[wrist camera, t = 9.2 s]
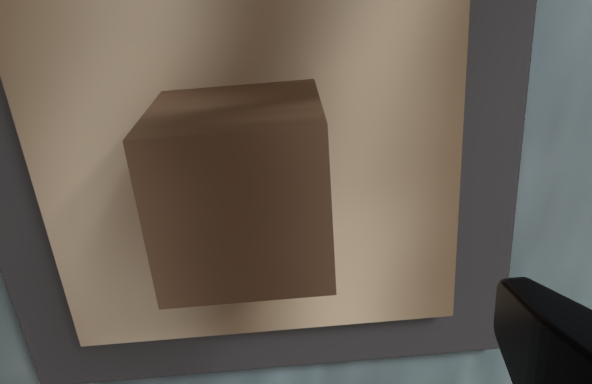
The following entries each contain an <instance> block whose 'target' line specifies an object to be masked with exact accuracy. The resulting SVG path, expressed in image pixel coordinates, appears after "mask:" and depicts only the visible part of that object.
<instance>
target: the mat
mask: <svg viewBox="0 0 592 384" xmlns="http://www.w3.org/2000/svg"><path fill="white" fill-rule="evenodd" d="M536 2H537V0H470V13H469V31H468V49H467V68H466V86H465V104H464V123H463V141H462V159H461V178H460V196H459V214H458V233H457V251H456V270H455V288H454V306H453V316H445V317H433V318H421V319H409V320H397V321H385V322H373V323H361V324H349V325H336V326H324V327H312V328H300V329H288V330H276V331H264V332H252V333H240V334H228V335H216V336H203V337H191V338H179V339H167V340H155V341H143V342H131V343H119V344H107V345H95V346H83V347H81V345H80V342H79V339H78V335H77V332H76V329H75V325H74V322H73V319H72V315H71V312H70V309H69V305H68V302H67V298H66V295H65V292H64V288H63V285H62V282H61V278H60V275H59V272H58V268H57V265H56V261H55V258H54V255H53V251H52V248H51V245H50V241H49V238H48V235H47V231H46V228H45V225H44V221H43V218H42V214H41V211H40V208H39V204H38V201H37V198H36V194H35V191H34V188H33V184H32V181H31V177H30V174H29V171H28V167H27V164H26V161H25V157H24V154H23V151H22V147H21V144H20V141H19V137H18V134H17V130H16V127H15V124H14V120H13V117H12V114H11V110H10V107H9V104H8V100H7V97H6V93H5V90H4V87H3V83H2V80H1V77H0V269H1V272H2V274H3V277H4V280H5V283H6V286H7V289H8V292H9V295H10V297H11V300H12V303H13V306H14V309H15V312H16V315H17V317H18V320H19V323H20V326H21V329H22V332H23V335H24V337H25V340H26V343H27V346H28V349H29V352H30V355H31V357H32V360H33V363H34V366H35V369H36V372H37V375H38V378H39V380H40V383H41V384H79V383H91V382H103V381H115V380H127V379H139V378H151V377H163V376H175V375H186V374H198V373H210V372H222V371H234V370H246V369H258V368H270V367H282V366H294V365H306V364H318V363H330V362H342V361H354V360H366V359H378V358H390V357H402V356H414V355H426V354H438V353H449V352H461V351H473V350H485V349H497V348H499V345H498V342H497V340H496V337H495V333H494V326H493V320H494V309H495V297H496V288H497V284H498V282H499V281H500V280H501V279H505V278H509V270H510V260H511V250H512V240H513V230H514V220H515V210H516V200H517V190H518V181H519V171H520V161H521V151H522V141H523V131H524V121H525V111H526V101H527V92H528V82H529V72H530V62H531V52H532V42H533V32H534V22H535V12H536Z"/></svg>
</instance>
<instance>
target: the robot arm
mask: <svg viewBox="0 0 592 384" xmlns="http://www.w3.org/2000/svg"><path fill="white" fill-rule="evenodd" d="M493 326H494V333H495V337H496V340H497V342H498V345H499V348H500V351H501V353H502V356H503V359H504V361H505V364H506V367H507V370H508V372H509V375H510V378H511V380H512V383H513V384H592V310H591V309H589V308H587V307H585V306H583V305H581V304H579V303H577V302H575V301H573V300H571V299H569V298H567V297H565V296H563V295H561V294H559V293H557V292H555V291H553V290H551V289H549V288H547V287H545V286H543V285H541V284H539V283H537V282H535V281H533V280H531V279H529V278H527V277H516V278H505V279H501V280H500V281H499V282H498V284H497V288H496V297H495V309H494V320H493Z"/></svg>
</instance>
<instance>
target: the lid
mask: <svg viewBox="0 0 592 384" xmlns="http://www.w3.org/2000/svg"><path fill="white" fill-rule="evenodd" d="M469 13H470V0H0V77H1V80H2V83H3V87H4V90H5V93H6V97H7V100H8V104H9V107H10V110H11V114H12V117H13V120H14V124H15V127H16V130H17V134H18V137H19V141H20V144H21V147H22V151H23V154H24V157H25V161H26V164H27V167H28V171H29V174H30V177H31V181H32V184H33V188H34V191H35V194H36V198H37V201H38V204H39V208H40V211H41V214H42V218H43V221H44V225H45V228H46V231H47V235H48V238H49V241H50V245H51V248H52V251H53V255H54V258H55V261H56V265H57V268H58V272H59V275H60V278H61V282H62V285H63V288H64V292H65V295H66V298H67V302H68V305H69V309H70V312H71V315H72V319H73V322H74V325H75V329H76V332H77V335H78V339H79V342H80V345H81V347H83V346H95V345H107V344H119V343H131V342H143V341H155V340H167V339H179V338H191V337H203V336H216V335H228V334H240V333H252V332H264V331H276V330H288V329H300V328H312V327H324V326H336V325H349V324H361V323H373V322H385V321H397V320H409V319H421V318H433V317H445V316H453V306H454V288H455V270H456V251H457V233H458V214H459V196H460V178H461V159H462V141H463V123H464V104H465V86H466V68H467V49H468V31H469Z"/></svg>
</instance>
